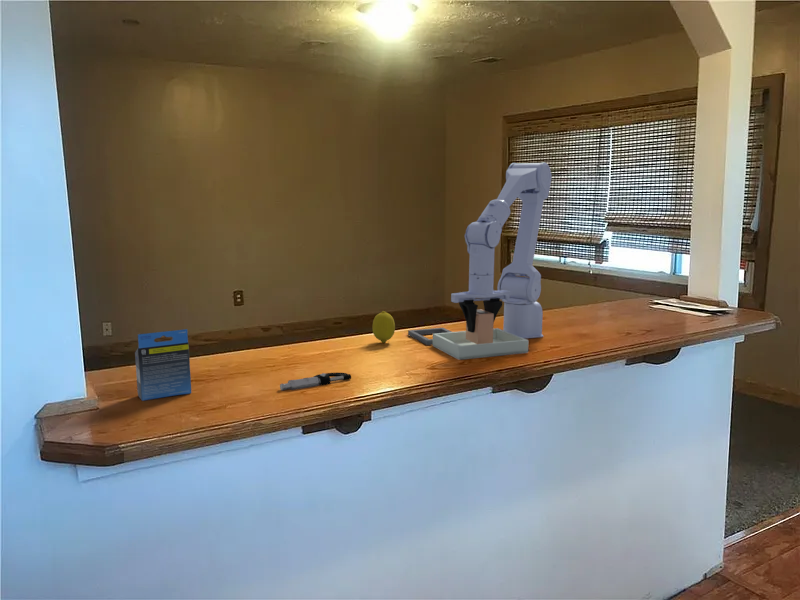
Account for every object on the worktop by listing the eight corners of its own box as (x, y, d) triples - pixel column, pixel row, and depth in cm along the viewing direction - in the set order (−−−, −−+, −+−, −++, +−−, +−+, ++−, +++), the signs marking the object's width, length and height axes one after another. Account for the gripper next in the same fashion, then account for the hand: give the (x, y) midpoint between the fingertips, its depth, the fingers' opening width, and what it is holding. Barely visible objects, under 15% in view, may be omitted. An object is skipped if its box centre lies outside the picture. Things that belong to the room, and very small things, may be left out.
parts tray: (497, 339, 167) (497, 328, 167) (528, 352, 155) (528, 340, 154) (432, 345, 161) (432, 333, 160) (458, 359, 148) (459, 346, 147)
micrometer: (339, 373, 138) (339, 362, 138) (354, 382, 132) (354, 370, 132) (270, 384, 131) (269, 371, 130) (283, 394, 125) (282, 381, 124)
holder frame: (442, 332, 176) (443, 327, 176) (463, 341, 165) (463, 337, 165) (408, 334, 172) (408, 330, 172) (427, 345, 161) (427, 340, 161)
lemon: (368, 343, 162) (368, 311, 161) (379, 339, 167) (379, 308, 166) (388, 346, 160) (388, 314, 158) (398, 341, 165) (399, 310, 163)
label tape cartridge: (187, 388, 126) (183, 324, 124) (191, 394, 123) (188, 328, 121) (137, 395, 122) (133, 329, 120) (141, 401, 118) (136, 334, 116)
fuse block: (480, 337, 161) (481, 308, 160) (492, 343, 155) (493, 313, 154) (465, 338, 159) (466, 309, 158) (477, 344, 154) (478, 314, 153)
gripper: (499, 270, 161) (498, 325, 163) (445, 273, 156) (444, 329, 158) (515, 274, 154) (513, 331, 157) (459, 276, 149) (458, 335, 151)
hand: (479, 330), depth 157 cm, fingers closed on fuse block, 4 cm apart
